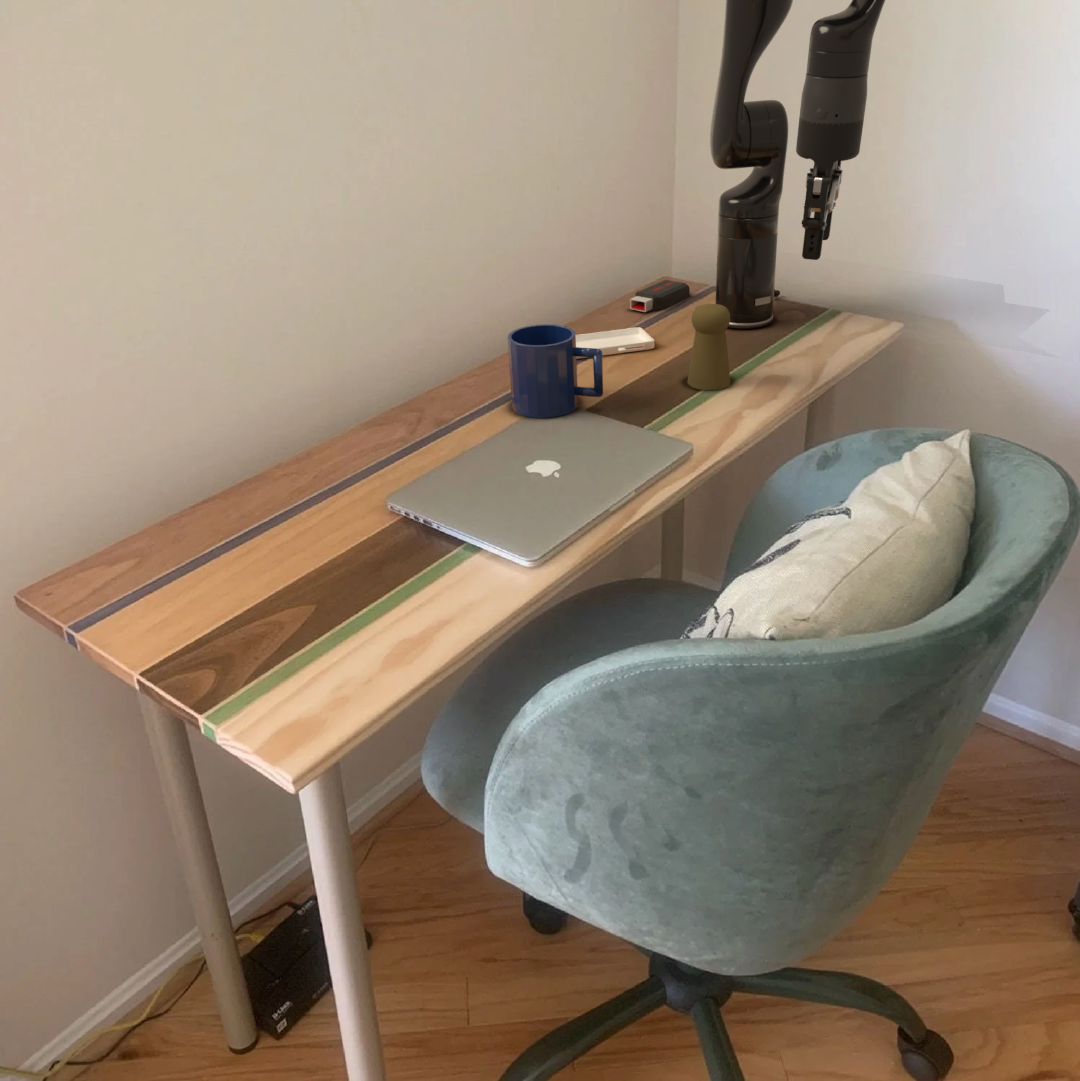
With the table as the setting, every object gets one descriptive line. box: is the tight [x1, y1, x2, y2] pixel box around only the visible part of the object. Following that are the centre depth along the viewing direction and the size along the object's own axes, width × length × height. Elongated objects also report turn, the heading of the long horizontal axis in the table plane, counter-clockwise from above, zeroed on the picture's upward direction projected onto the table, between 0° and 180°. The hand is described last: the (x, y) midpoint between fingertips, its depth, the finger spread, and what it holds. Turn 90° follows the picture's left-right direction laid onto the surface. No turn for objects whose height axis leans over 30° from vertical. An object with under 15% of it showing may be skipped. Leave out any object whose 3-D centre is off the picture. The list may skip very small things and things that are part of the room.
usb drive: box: [629, 279, 691, 313], centre depth 179 cm, size 5×12×3 cm, turn 140°
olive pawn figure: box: [686, 303, 731, 391], centre depth 144 cm, size 6×6×11 cm
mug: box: [507, 323, 604, 419], centre depth 139 cm, size 13×9×10 cm
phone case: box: [576, 326, 656, 360], centre depth 161 cm, size 7×1×15 cm
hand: (815, 248), depth 133 cm, fingers open, 8 cm apart
